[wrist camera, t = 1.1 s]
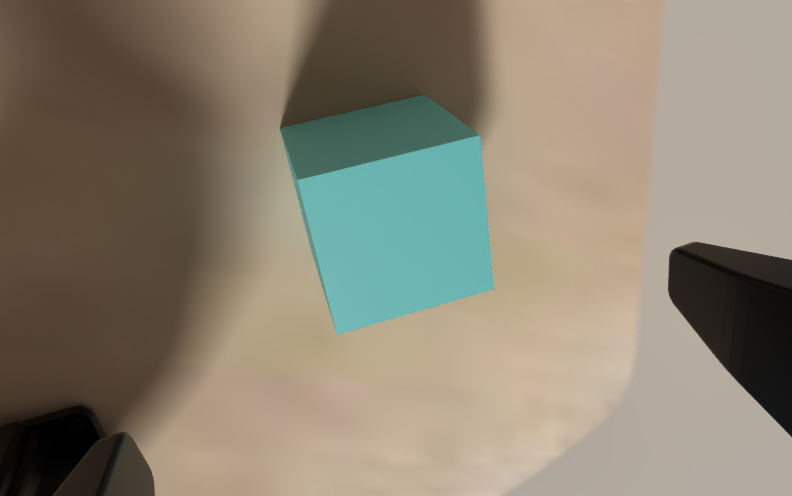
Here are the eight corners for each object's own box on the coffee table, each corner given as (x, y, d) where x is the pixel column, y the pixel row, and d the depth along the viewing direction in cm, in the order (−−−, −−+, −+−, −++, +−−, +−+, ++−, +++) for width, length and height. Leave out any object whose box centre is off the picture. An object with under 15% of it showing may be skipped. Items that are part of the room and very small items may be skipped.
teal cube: (441, 223, 23) (493, 289, 19) (313, 257, 22) (337, 334, 18) (424, 93, 20) (479, 135, 16) (279, 127, 20) (297, 180, 15)
